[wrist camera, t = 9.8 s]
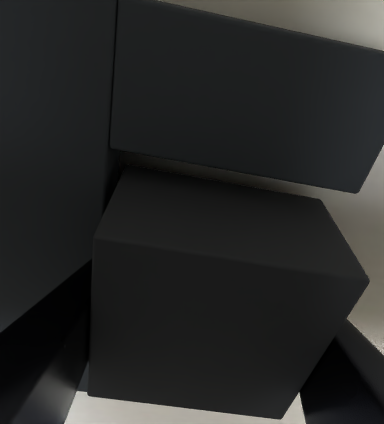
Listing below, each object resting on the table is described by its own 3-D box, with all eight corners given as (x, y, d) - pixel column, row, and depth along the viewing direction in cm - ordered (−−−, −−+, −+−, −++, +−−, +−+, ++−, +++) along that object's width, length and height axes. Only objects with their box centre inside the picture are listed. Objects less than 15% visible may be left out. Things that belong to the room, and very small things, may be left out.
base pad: (240, 373, 13) (245, 412, 12) (-186, 316, 12) (-230, 353, 11) (388, 52, 7) (429, 63, 6) (-464, -139, 6) (-645, -176, 5)
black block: (263, 326, 11) (281, 421, 9) (113, 303, 11) (86, 397, 8) (321, 198, 9) (372, 281, 6) (125, 163, 8) (92, 235, 6)
